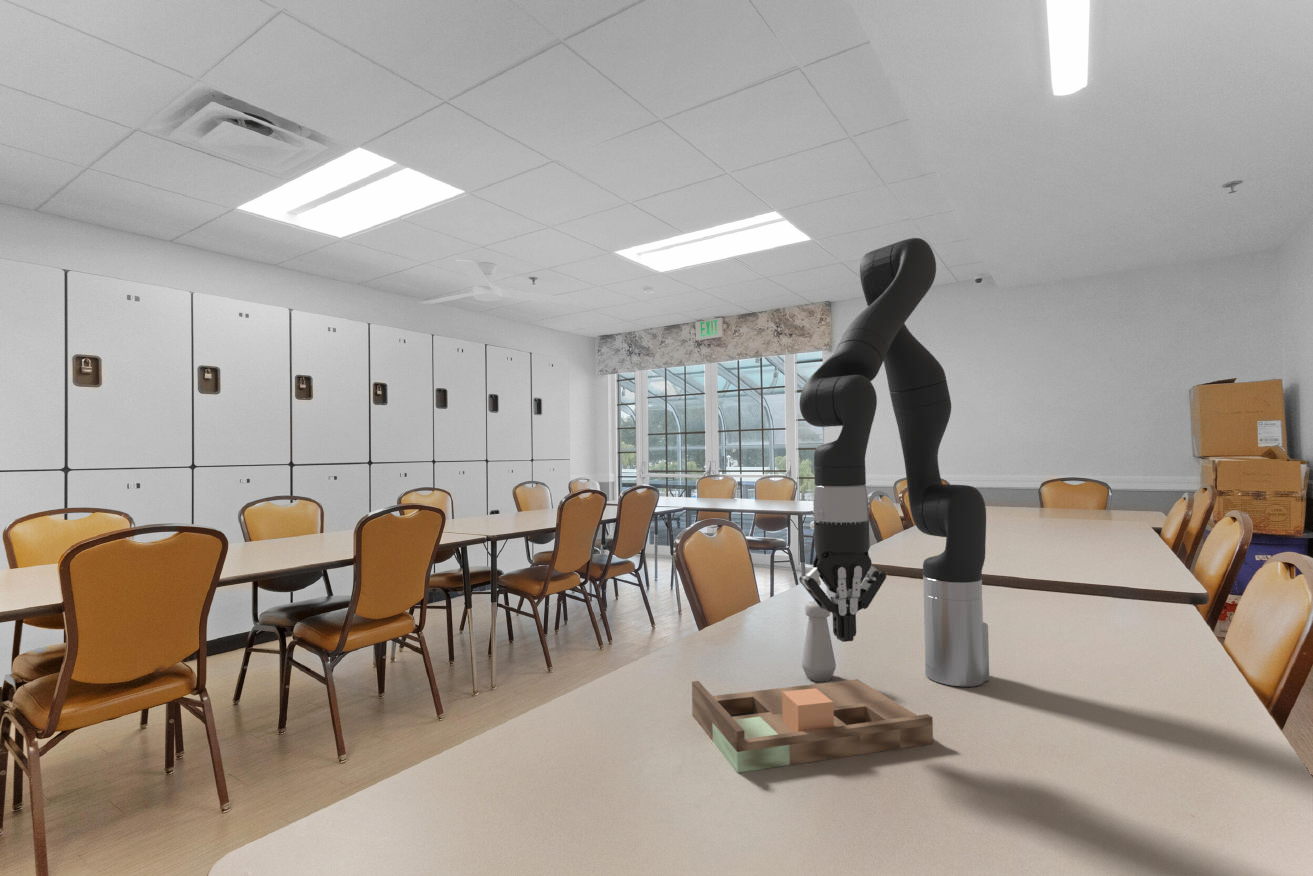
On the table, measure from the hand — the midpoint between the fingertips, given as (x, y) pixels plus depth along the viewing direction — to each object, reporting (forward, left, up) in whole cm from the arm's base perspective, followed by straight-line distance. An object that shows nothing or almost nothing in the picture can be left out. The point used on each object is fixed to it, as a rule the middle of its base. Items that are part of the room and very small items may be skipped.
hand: (844, 639), depth 90 cm
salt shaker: (-7, -20, -13) cm, 25 cm away
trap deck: (+5, -2, -13) cm, 14 cm away
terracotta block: (+7, +3, -10) cm, 13 cm away
